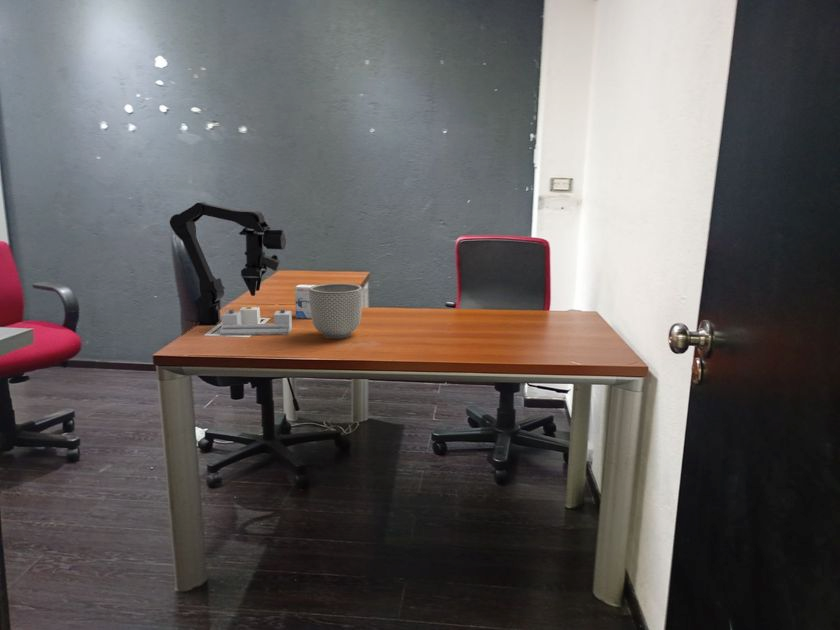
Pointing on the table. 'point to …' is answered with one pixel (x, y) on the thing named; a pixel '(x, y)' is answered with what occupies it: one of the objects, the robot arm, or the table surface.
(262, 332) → the rail
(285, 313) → the block
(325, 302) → the planter
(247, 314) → the module
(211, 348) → the table surface
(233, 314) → the block
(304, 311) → the ink box
